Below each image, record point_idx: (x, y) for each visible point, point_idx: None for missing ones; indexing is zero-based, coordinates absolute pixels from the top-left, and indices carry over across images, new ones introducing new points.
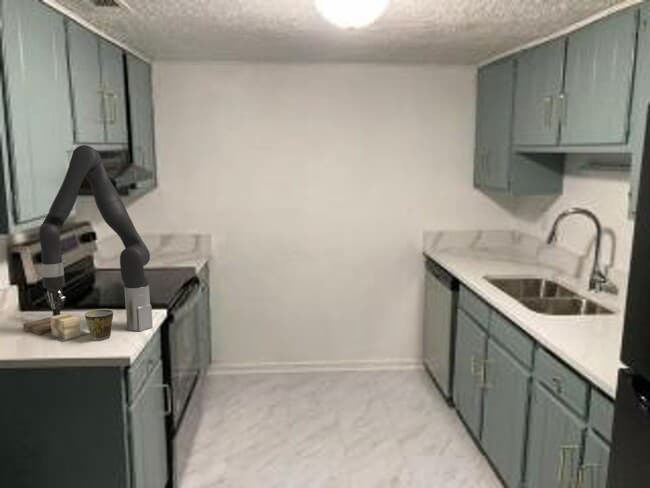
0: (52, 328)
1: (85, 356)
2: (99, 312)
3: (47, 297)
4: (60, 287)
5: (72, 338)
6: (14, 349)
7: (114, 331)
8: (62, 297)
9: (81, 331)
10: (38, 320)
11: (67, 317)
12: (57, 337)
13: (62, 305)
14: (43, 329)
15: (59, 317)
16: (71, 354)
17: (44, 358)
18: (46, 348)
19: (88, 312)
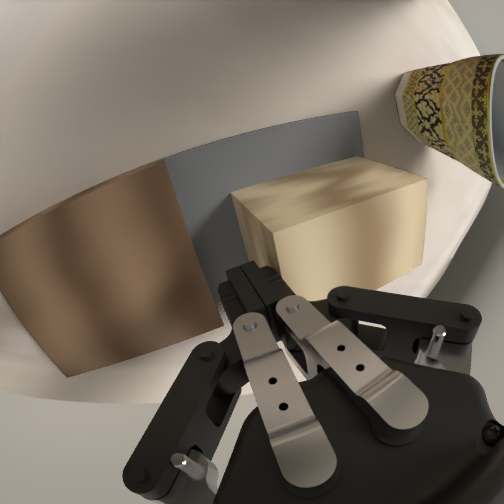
0: None
1: (477, 206)
2: (478, 84)
3: (209, 457)
4: (501, 430)
5: None
6: None
7: (383, 25)
8: (470, 341)
9: (306, 131)
10: (28, 323)
11: (383, 236)
12: None
13: (368, 298)
14: (218, 314)
15: (348, 280)
16: (455, 231)
17: (429, 291)
18: (381, 288)
19: (490, 152)
